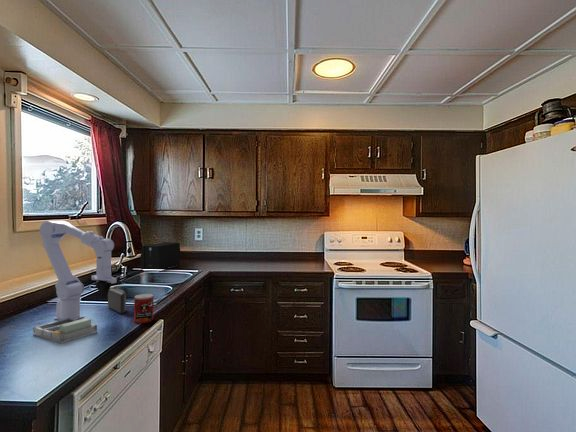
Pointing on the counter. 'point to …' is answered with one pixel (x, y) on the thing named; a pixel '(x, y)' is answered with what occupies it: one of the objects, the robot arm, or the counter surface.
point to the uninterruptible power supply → (160, 255)
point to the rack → (54, 334)
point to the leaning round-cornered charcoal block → (117, 300)
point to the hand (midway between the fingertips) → (103, 298)
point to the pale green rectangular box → (75, 325)
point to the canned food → (143, 308)
